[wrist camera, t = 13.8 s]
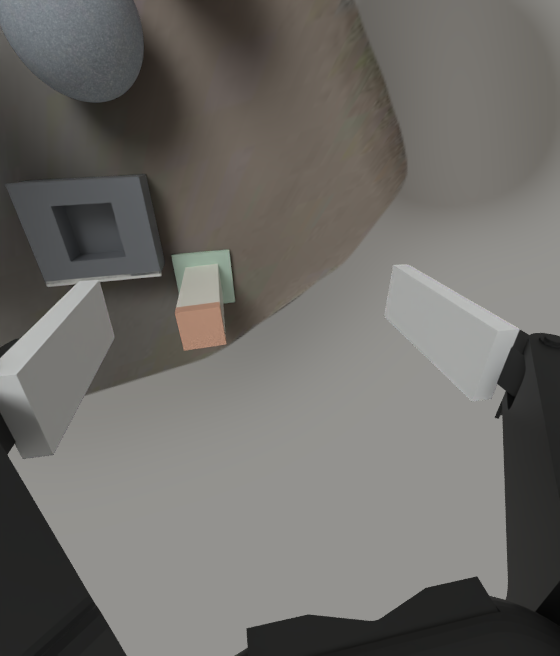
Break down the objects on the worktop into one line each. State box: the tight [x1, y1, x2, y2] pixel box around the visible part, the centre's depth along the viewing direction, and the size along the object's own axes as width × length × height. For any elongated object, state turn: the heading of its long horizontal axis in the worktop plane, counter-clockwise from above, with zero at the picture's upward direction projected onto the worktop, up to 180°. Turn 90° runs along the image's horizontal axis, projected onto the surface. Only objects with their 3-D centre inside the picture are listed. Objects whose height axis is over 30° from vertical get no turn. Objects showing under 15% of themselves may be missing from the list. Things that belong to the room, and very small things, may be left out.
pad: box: [171, 249, 235, 303], centre depth 42 cm, size 7×7×1 cm
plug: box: [175, 264, 226, 351], centre depth 36 cm, size 4×4×13 cm
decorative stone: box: [0, 0, 144, 103], centre depth 26 cm, size 10×10×10 cm
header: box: [5, 174, 165, 287], centre depth 36 cm, size 12×10×4 cm
